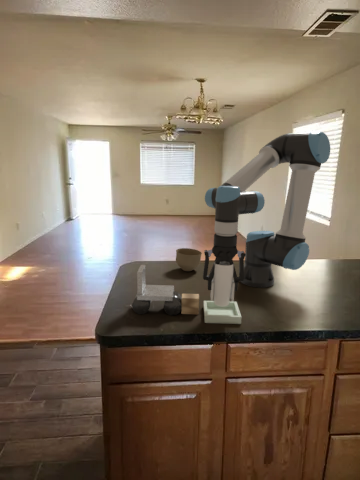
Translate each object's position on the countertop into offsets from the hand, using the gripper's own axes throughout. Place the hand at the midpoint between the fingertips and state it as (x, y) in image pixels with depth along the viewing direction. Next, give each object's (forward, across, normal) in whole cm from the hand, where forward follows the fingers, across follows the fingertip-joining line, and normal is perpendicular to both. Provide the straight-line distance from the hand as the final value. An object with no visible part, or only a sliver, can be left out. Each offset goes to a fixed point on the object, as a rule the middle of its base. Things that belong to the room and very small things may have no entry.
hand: (221, 298), depth 109 cm
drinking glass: (+2, 0, 0) cm, 2 cm away
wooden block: (+6, +11, -2) cm, 13 cm away
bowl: (+6, +12, -47) cm, 49 cm away
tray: (+6, 0, 0) cm, 6 cm away
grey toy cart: (+6, +23, -2) cm, 24 cm away
